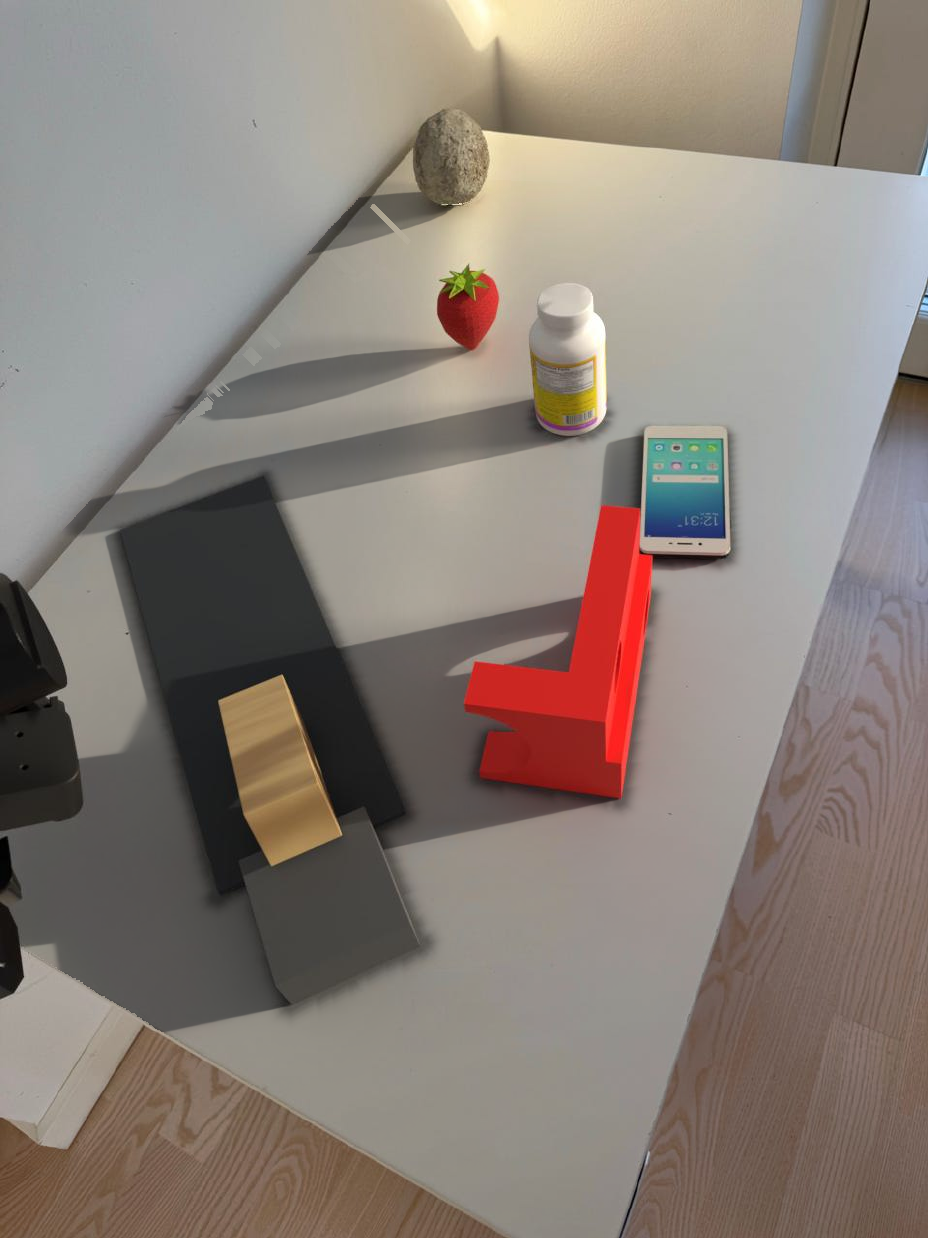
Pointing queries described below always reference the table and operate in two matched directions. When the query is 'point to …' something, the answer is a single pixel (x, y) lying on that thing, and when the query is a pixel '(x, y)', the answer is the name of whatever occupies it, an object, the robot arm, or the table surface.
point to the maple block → (277, 771)
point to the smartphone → (685, 493)
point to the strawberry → (467, 306)
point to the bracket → (576, 680)
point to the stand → (328, 910)
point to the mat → (246, 657)
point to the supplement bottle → (568, 361)
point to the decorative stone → (450, 157)
